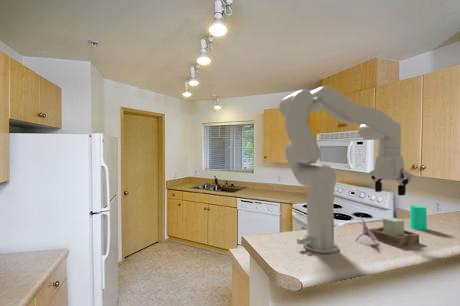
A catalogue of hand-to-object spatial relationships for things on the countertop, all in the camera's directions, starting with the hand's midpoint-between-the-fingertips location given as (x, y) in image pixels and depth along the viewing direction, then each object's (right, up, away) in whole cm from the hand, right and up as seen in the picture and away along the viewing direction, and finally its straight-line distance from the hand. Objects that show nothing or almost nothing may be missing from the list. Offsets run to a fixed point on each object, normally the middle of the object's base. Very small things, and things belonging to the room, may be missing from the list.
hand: (389, 193), depth 97 cm
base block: (+1, -20, -1) cm, 20 cm away
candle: (+23, -19, +14) cm, 33 cm away
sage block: (+1, -17, -1) cm, 17 cm away
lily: (-11, -19, -4) cm, 23 cm away
